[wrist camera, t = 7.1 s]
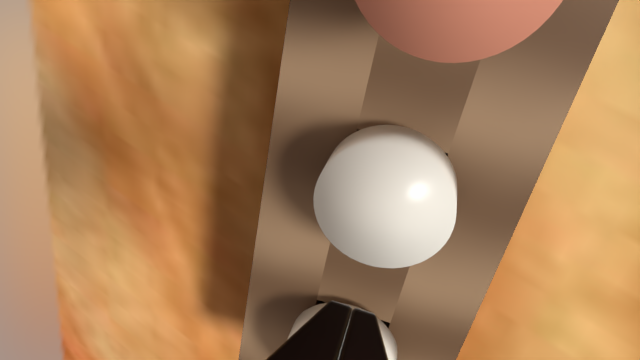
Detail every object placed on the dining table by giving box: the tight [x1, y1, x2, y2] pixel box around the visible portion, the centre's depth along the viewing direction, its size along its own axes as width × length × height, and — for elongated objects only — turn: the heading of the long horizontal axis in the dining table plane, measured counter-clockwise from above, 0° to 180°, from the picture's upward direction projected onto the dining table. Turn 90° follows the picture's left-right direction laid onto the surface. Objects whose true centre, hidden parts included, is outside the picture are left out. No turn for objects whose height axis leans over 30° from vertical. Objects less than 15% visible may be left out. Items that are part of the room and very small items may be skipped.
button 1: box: [288, 303, 398, 360], centre depth 23 cm, size 5×5×6 cm
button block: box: [239, 0, 619, 360], centre depth 20 cm, size 25×9×4 cm, turn 170°
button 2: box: [313, 125, 457, 268], centre depth 19 cm, size 5×5×6 cm
